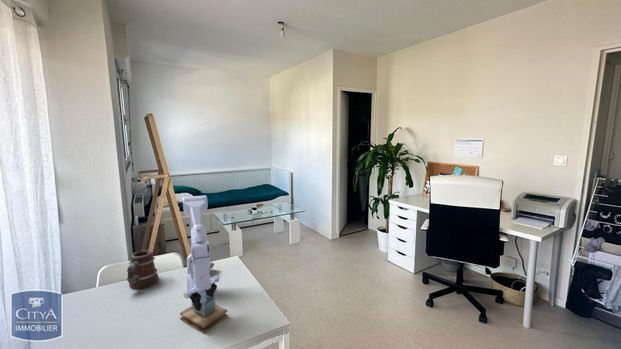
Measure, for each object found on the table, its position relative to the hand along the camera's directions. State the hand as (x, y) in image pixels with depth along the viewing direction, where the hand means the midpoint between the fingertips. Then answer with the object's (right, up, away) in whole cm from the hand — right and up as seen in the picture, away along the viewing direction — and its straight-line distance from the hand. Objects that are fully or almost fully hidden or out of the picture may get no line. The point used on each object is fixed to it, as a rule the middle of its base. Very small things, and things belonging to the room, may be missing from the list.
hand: (203, 306), depth 108 cm
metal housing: (0, -2, 0) cm, 2 cm away
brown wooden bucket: (-39, -2, +24) cm, 46 cm away
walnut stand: (0, -5, +1) cm, 5 cm away
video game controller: (-12, 0, +34) cm, 37 cm away
